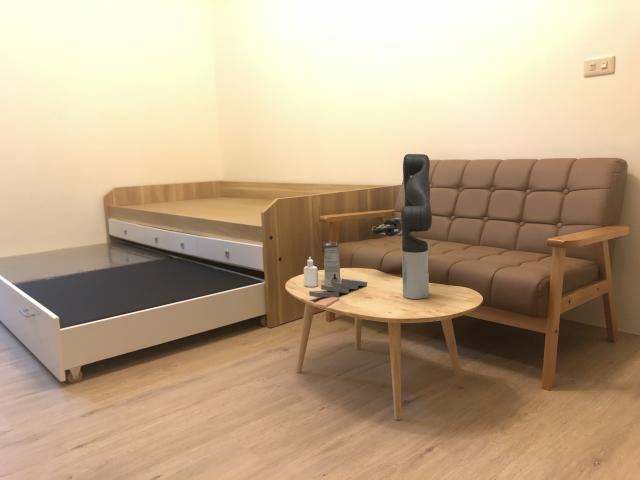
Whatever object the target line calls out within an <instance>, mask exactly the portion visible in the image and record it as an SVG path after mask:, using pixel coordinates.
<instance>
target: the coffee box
mask: <svg viewBox="0 0 640 480" xmlns="http://www.w3.org/2000/svg"><path fill="white" fill-rule="evenodd" d="M339 243H340V242H339V241H329V242H326V241H324V242H323V261H324V262H323V267H324V269H323V270H324V272H323V273H324V285H326V286H331V284H332V282H339V283H341V267H340V266H341V265H340V263H341V262H340V244H339Z"/></svg>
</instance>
